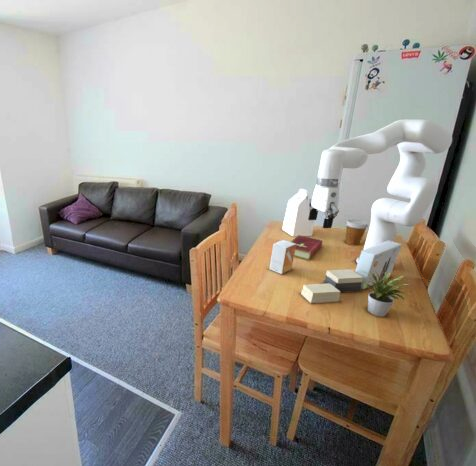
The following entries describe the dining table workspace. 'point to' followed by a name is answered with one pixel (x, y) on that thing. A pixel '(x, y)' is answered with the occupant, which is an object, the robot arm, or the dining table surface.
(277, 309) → the dining table surface
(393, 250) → the skincare box
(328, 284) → the cream book stack
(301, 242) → the hardcover book
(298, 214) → the milk
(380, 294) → the house plant
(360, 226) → the disposable coffee cup
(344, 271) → the cream book
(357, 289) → the grey book stack
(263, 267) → the dining table surface
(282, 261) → the small box
